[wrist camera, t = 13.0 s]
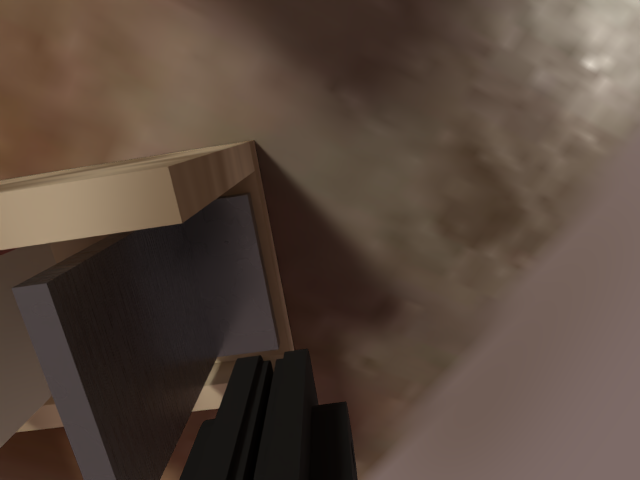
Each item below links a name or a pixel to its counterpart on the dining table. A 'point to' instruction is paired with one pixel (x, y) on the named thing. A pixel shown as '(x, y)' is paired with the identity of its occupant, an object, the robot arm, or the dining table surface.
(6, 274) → the book
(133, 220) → the rack
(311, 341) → the dining table surface
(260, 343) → the bookend
